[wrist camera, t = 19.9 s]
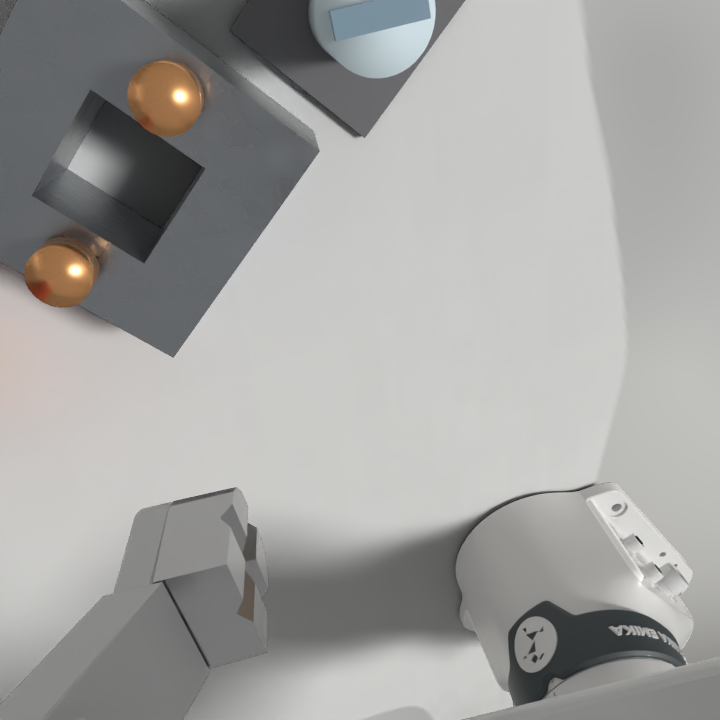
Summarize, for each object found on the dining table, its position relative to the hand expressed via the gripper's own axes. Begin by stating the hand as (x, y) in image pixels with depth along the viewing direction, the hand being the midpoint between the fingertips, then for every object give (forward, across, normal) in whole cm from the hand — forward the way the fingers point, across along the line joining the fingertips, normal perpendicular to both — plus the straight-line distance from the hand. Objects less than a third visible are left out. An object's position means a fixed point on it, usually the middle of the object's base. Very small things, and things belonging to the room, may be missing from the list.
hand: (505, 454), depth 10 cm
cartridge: (+30, -2, -5) cm, 31 cm away
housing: (+31, +11, -1) cm, 33 cm away
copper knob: (+27, +15, +2) cm, 31 cm away
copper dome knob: (+27, +7, -4) cm, 28 cm away
